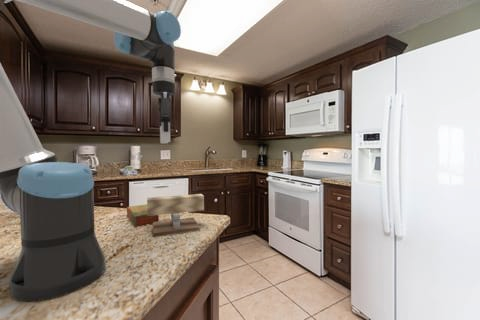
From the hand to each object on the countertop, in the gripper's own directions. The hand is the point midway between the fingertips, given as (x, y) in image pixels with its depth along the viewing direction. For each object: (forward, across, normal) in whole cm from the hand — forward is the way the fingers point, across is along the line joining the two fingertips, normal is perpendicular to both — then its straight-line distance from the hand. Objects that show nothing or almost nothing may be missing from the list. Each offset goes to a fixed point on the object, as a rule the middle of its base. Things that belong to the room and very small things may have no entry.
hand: (165, 143), depth 81 cm
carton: (+29, +8, +8) cm, 31 cm away
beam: (+23, -7, -3) cm, 24 cm away
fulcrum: (+29, -7, -2) cm, 30 cm away
